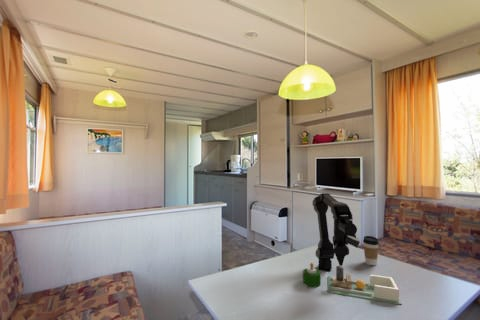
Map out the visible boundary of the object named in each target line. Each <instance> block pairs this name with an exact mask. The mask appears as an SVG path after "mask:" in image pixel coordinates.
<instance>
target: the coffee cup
mask: <svg viewBox="0 0 480 320" xmlns="http://www.w3.org/2000/svg"><path fill="white" fill-rule="evenodd" d="M362 243H363V251H364V252H363V253H364V261H365V264H366V265H369V266H377V265H378V254H379V245H380V242H379V239H378V238H376V237H375V236H372V235H365V236H363V241H362Z"/></svg>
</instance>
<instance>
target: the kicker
mask: <svg viewBox="0 0 480 320" xmlns="http://www.w3.org/2000/svg"><path fill="white" fill-rule="evenodd" d="M335 272H336V273H335V276H332V277H333V286H339V287H345V288H347V289H351V290H352V280H353V279H352V276H351V274H349V273H348V274H347V273H346V274H345V278H344V267H343V265H342V266H340V265H336V267H335Z"/></svg>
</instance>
